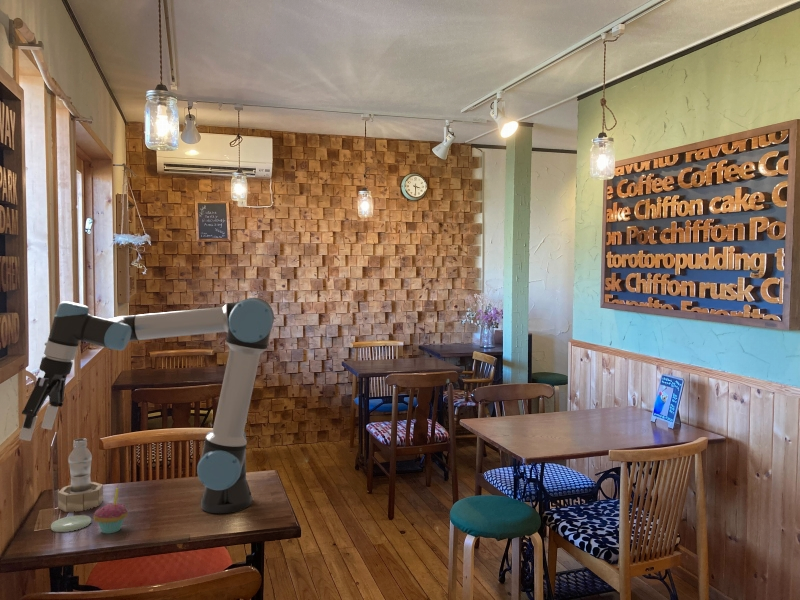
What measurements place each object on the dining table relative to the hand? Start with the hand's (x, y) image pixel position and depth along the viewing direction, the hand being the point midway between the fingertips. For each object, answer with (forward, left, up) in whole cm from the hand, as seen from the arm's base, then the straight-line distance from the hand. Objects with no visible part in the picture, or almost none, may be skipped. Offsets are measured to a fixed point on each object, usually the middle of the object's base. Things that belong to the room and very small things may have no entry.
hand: (35, 434), depth 166 cm
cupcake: (-14, -13, -28) cm, 34 cm away
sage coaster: (-1, -8, -27) cm, 29 cm away
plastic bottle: (+11, -18, -28) cm, 35 cm away
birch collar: (+11, -18, -27) cm, 35 cm away
